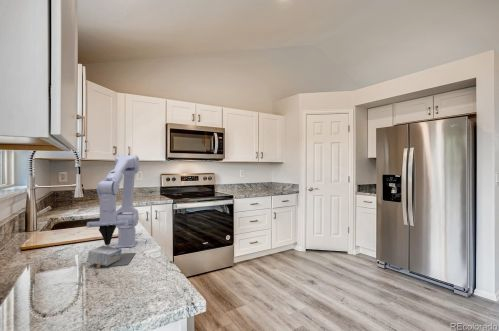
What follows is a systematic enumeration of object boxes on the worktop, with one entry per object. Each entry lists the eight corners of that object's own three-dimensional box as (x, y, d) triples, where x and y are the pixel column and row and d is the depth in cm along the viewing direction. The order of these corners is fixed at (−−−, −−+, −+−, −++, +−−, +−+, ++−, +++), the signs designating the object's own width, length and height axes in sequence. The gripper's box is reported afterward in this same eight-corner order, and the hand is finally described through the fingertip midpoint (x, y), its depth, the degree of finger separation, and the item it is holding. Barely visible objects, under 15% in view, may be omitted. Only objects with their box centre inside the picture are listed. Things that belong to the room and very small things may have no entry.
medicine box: (86, 262, 94) (107, 266, 93) (88, 250, 94) (109, 254, 93) (100, 256, 102) (120, 260, 101) (102, 245, 102) (122, 249, 101)
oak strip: (108, 256, 106) (108, 253, 106) (111, 256, 107) (111, 253, 107) (96, 268, 93) (96, 265, 93) (99, 268, 93) (99, 265, 93)
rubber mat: (113, 255, 108) (113, 254, 108) (135, 253, 110) (135, 252, 110) (102, 267, 94) (102, 266, 94) (127, 265, 96) (127, 264, 96)
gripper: (83, 212, 95) (83, 248, 95) (124, 211, 98) (124, 246, 98) (90, 210, 102) (90, 243, 101) (129, 208, 105) (129, 241, 105)
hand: (107, 244), depth 100 cm, fingers closed
